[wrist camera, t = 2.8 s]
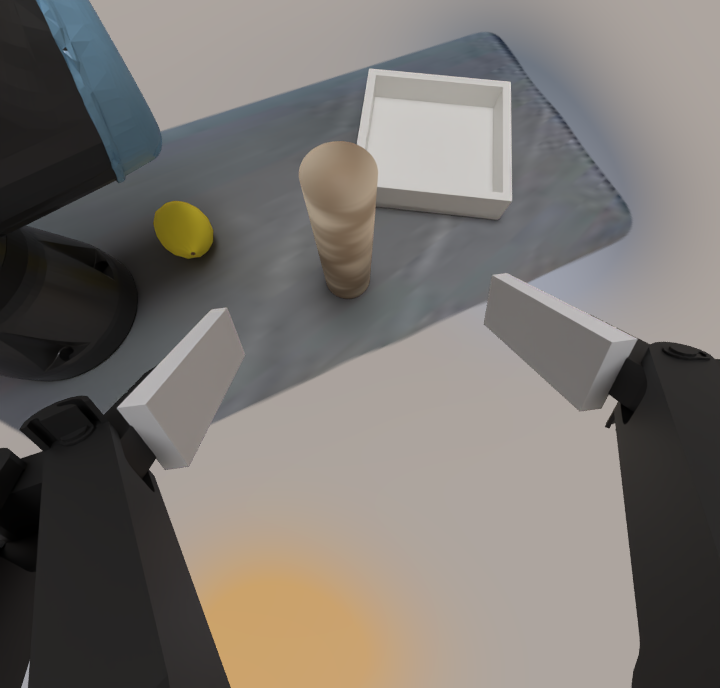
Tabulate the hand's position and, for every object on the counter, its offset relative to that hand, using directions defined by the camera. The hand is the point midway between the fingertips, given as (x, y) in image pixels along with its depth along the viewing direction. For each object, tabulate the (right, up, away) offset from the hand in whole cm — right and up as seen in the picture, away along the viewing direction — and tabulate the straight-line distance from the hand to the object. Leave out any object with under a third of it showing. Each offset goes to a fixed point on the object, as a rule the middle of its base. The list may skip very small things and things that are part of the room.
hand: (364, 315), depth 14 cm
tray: (+9, +23, +21) cm, 33 cm away
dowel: (-2, +6, +17) cm, 18 cm away
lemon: (-19, +10, +18) cm, 28 cm away
